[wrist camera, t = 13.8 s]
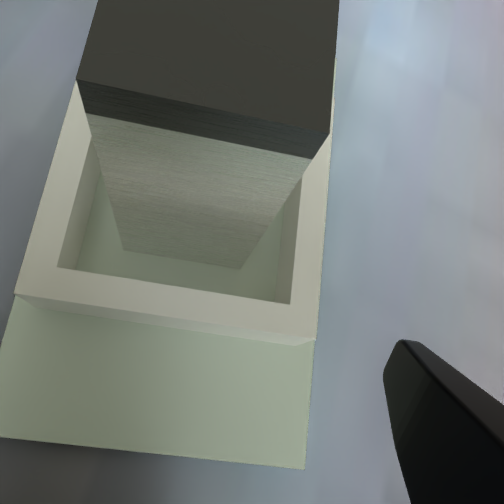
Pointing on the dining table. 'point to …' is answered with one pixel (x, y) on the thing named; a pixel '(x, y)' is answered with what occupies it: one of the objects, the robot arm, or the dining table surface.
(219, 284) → the collar holder
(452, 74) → the dining table surface
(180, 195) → the grey tall block
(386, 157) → the dining table surface
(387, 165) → the dining table surface
